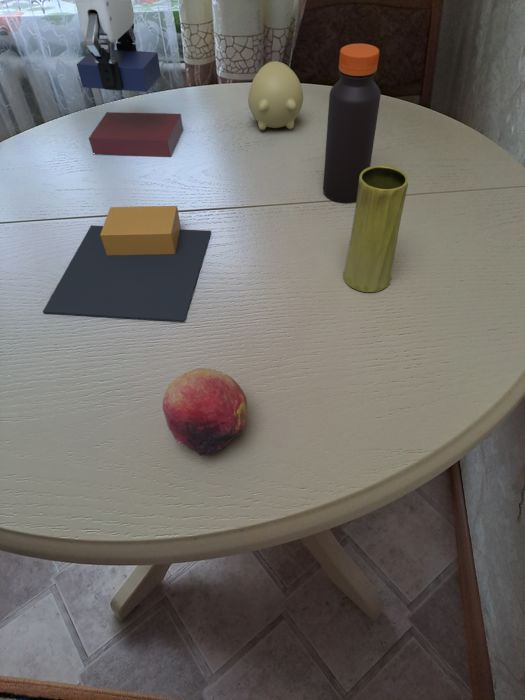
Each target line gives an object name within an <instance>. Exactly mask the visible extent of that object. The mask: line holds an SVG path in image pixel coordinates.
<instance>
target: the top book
mask: <svg viewBox="0 0 525 700" xmlns="http://www.w3.org/2000/svg"><path fill="white" fill-rule="evenodd" d="M178 208H179V207H178V205H149V206H148V205H147V206H144V205H143V206H140V205H139V206H110V207H109V210H108V212H107V215H106V218H105V220H104V222H103V225H102V226H103V229H102V231H101V234H100V236H101V239H102V242H103V245H104V248H105V251H106V254H107V256H111V255H166V254H175V253H176V248H177V243H178V238H179V233H180V229H182V228H181V227H182V226H181V220H180V214H179V209H178Z"/></svg>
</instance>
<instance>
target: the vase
mask: <svg viewBox="0 0 525 700" xmlns="http://www.w3.org/2000/svg"><path fill="white" fill-rule="evenodd" d="M408 186H409V177H408V175H407V174H406V173H405V172H404V171H403V170H401V169H400V168H397V167H395V166H393V165H392V166H391V165H385V164H377V165H376V164H375V165H370V167H368V168H366V169H364V170H363V171H362V172H361V174H360V176H359V186H358V193H357V201H355V208H354V214H353V221H352V228H351V232H350V233H351V234H350V239H349V244H348V248H347V255H346V261H345V265H344V270H343V273H342V276H343V279H344V281H345V283H346V284H347V285H348V286H349V287H350V288H351V289H353V290H356V291H358V292H361V293H376V292H380V291H382V290H384V289H387V287H388V286H389V284H390V283H391V281H392V273H393V267H394V263H395V256H396V249H397V243H398V237H399V231H400V225H401V220H402V215H403V210H404V205H405V201H406V195H407V190H408Z"/></svg>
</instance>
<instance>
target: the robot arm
mask: <svg viewBox="0 0 525 700" xmlns="http://www.w3.org/2000/svg"><path fill="white" fill-rule="evenodd" d="M74 1H75V6H76V7H75V8H76V12H77V16H78V21H79V25H80V30H81V34H82V38H83V39H84V40H85V45H86V48H88V50H89V52H91V54H92V56H93V57H94V59H95V62H96V63H97V65H98V69H99V73H100V78H101V82H102V86H103V88H104V89H103V90H107V91H108V90H109V91H123V90H122V89H123V85H122V80H121V76H120V71H119V66H118V62H115V50H127V51H138V49H137V45H136V40H137V39H136V35H135V33H134V30H135V23H134V22H135V15H134V8H133V2H132V0H74ZM101 36H103V37H105V36H106V37H107V38H100V37H101ZM115 43H116V44H115ZM102 46H107V49H108V53H107V51H106V50H105V49H106V48H105V47H102ZM115 46H116V49H115Z"/></svg>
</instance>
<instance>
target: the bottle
mask: <svg viewBox="0 0 525 700" xmlns="http://www.w3.org/2000/svg"><path fill="white" fill-rule="evenodd" d="M379 57H380V49H379V48H378V47H377V46H375V45H372V44H370V43H369V44H368V43H350V44H347V45H344V46H342V47H341V48H340V50H339V59H338V74H339V76H340V78H339V79H338V81H337V82H336V83H335V84H334V85H333V86H332V87H331V88H330V91H329V94H328V95H329V97H328V110H327V111H328V112H327V125H326V139H325V155H324V167H323V168H324V169H323V181H322V182H323V183H322V189H323V190H322V191H323V193H324V195H325V196H326V197H327V199H330V200H331V201H334V202H336V203H337V202H338V203H344V204H347V203H348V204H349V203H356V201H357V193H358V186H359V176H360V174H361V172H362V171H363V170H364V169H366V168H368V167H371V166H372V165H371V164H372V157H373V151H374V143H375V136H376V128H377V123H378V117H379V116H378V115H379V111H380V110H379V109H380V102H381V95H382V92H381V90H380V88H379V86H378V84H377V83H376V82H375V80H374V77H375V76H376V74H377V71H378V66H379V64H378V63H379Z"/></svg>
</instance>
